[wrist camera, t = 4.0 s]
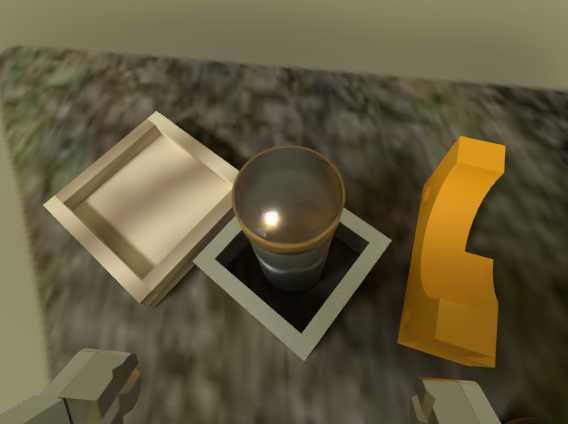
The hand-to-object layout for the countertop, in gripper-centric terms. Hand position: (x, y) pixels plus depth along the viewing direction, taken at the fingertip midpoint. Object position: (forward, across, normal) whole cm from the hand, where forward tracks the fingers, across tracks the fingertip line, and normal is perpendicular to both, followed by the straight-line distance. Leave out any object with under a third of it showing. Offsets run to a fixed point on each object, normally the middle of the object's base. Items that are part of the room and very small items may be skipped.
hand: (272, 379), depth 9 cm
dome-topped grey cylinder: (+13, 0, +4) cm, 14 cm away
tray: (+16, +11, +1) cm, 19 cm away
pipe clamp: (+14, -11, +4) cm, 18 cm away
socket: (+13, 0, +4) cm, 14 cm away
